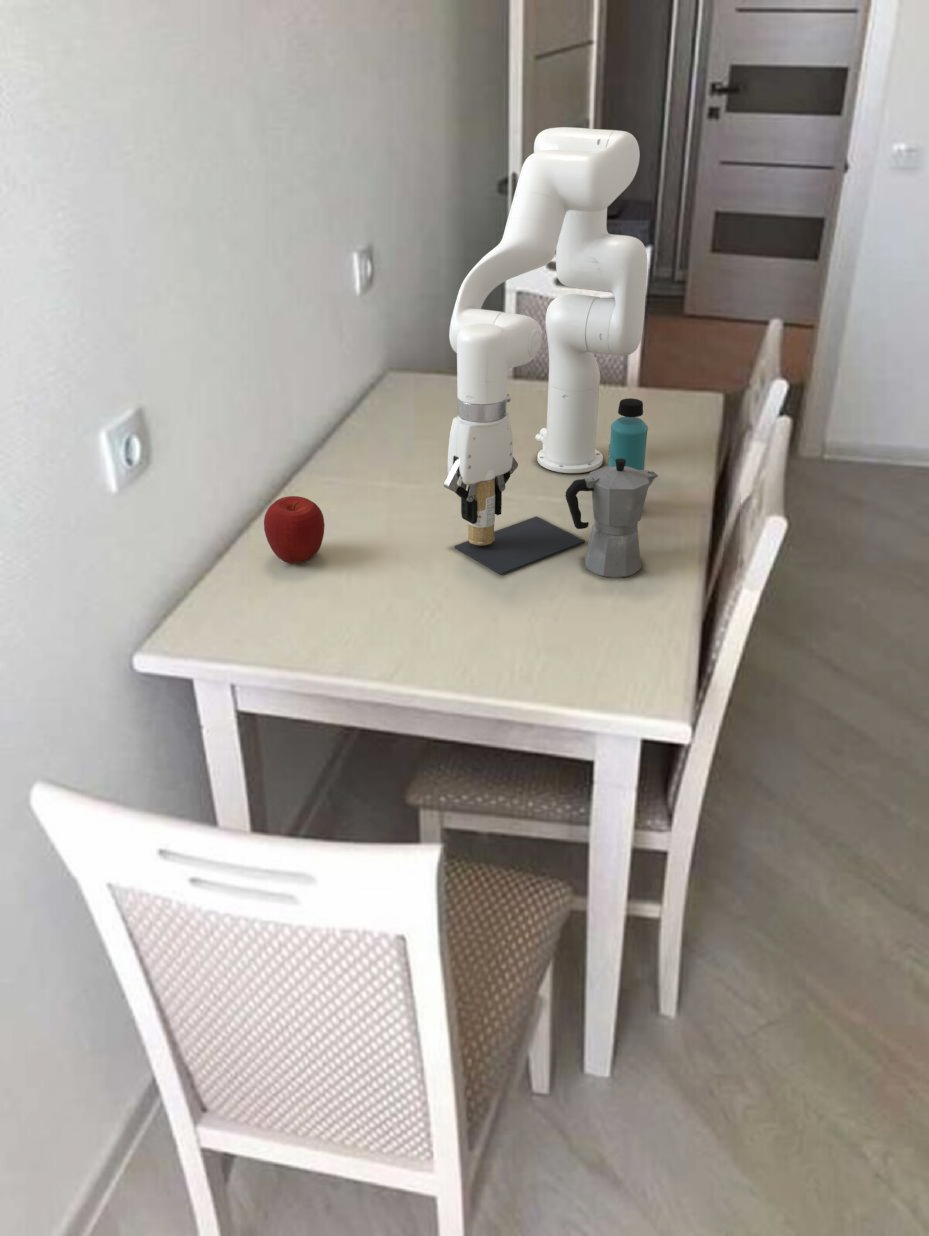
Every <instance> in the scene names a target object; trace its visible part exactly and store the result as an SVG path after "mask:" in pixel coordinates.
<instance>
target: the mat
mask: <svg viewBox="0 0 929 1236" xmlns="http://www.w3.org/2000/svg"><path fill="white" fill-rule="evenodd" d="M494 537H495V540H494V541H493V542H492V543H491V544H488V545H482V546H478V545H474V544H471V543H470V542H469V541H468V540H467V541H464V542H461V543H459V544H455V545H454V549H455V550H457V551H459V552H460V553H463V554H464V555H465V556H467V557H469V558H471V559H473V560H475V561H476V562H478V563H480V564H481V565H482V566H485V567H486V568H488V569H490V570H491V571H493V572H495V573H497V574H498V575H500V576H504V575H506V574H508V573H511V572H514V571H516V570H518V569H521V568H524V567H526V566H529V565H533V564H534V563H537V562H539V561H541V560H544V559H547V558H550V557H552V556H555V555H558V554H560V553H562V552H563V553H564V552H565V551H568V550H570V549H573V548H575V547H578V546H580V545H583V544H585V543H586V540H584V539H583V538H580V537H578V536H576V535H574V534H573V533H570V532H568V531H567V530H564V529H562V528H560V527H558V526H556V525H555V524H553V523H551V522H548V521H546V520H544V519H543V518H542V517H540V516H539V517H538V516H534V517H531V518H528V519H526V520H523V521H520V522H517V523H514V524H511V525H509V526H506V527H504V528H503V527H502V528H500V529H498V530H494Z"/></svg>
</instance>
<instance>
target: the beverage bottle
mask: <svg viewBox="0 0 929 1236" xmlns="http://www.w3.org/2000/svg"><path fill="white" fill-rule="evenodd" d="M617 414H618V415H619V416H620V417H618V418H617V419H616V420H615V421H613V422H612V423H611V425H610V438H609V444H608V447H609V450H608V453H607V454H608V459H607V460H608V465H607V466H616V461H615V459H618V458H622V459H625V460H626V463H625V466H628V467H631V468H634V469H637V470H645V466H646V465H645V461H646V452H647V451H646V450H647V441H648V431H649V426H648V424H647V423H646V422H645V421H644V420H642V418H640V417H641V416H643V415H644V402H643V400H641V399H638V398H632V397H631V398H630V397H629V398H622V399H621V400H620V401H619V405H618V409H617Z"/></svg>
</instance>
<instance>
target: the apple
mask: <svg viewBox="0 0 929 1236" xmlns="http://www.w3.org/2000/svg"><path fill="white" fill-rule="evenodd" d="M324 517H325V516H324V514H323V511H322V510H321V508H320V507H319V506H318V504H317V503H315V502H314V501H312V500H311V499H308V498H306V497H303V496H297V495H290V496H284V497H281V498H278V499H276V500H275V501H274V502H273V503H272V504H270V505H269V507H268V508H267V510H266V512H265V514H264V517H263V518H264V519H263V531H264V535H265V538H266V541H267V543H268V545H269V546H270V548H271V550H272V552H273V553H274V555H275V556H276V557H277V558H278V559H280V560H281V561H283V562H285V563H288V564H289V563H290V564H297V563H303V562H307V561H309V560H311V559H312V558H314V556H316V555H317V554H318V552H319V550H320V548H321V547H322V543H323V540H324V536H325V535H324V534H325V527H326V526H325V518H324Z"/></svg>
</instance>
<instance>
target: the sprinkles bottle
mask: <svg viewBox="0 0 929 1236" xmlns="http://www.w3.org/2000/svg"><path fill="white" fill-rule="evenodd" d="M468 486H469V485H467V487H468ZM474 500H476V501H477V522H476V523H475V524H472V523H470V522H468V521H467V536H466V538H467V541H469V542H470V543H471V544H474V545H478V546H482V545H488V544H491V543H492V542H493V541H494V540H495V537H494V532H495V520H496V519H495V518H496V514H495V473H494V471H493V470H490V471H488V472H487V474H486V476H485V479H484V480H483V481H481V482H478V483H477V484H476V490H475V495H474Z"/></svg>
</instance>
